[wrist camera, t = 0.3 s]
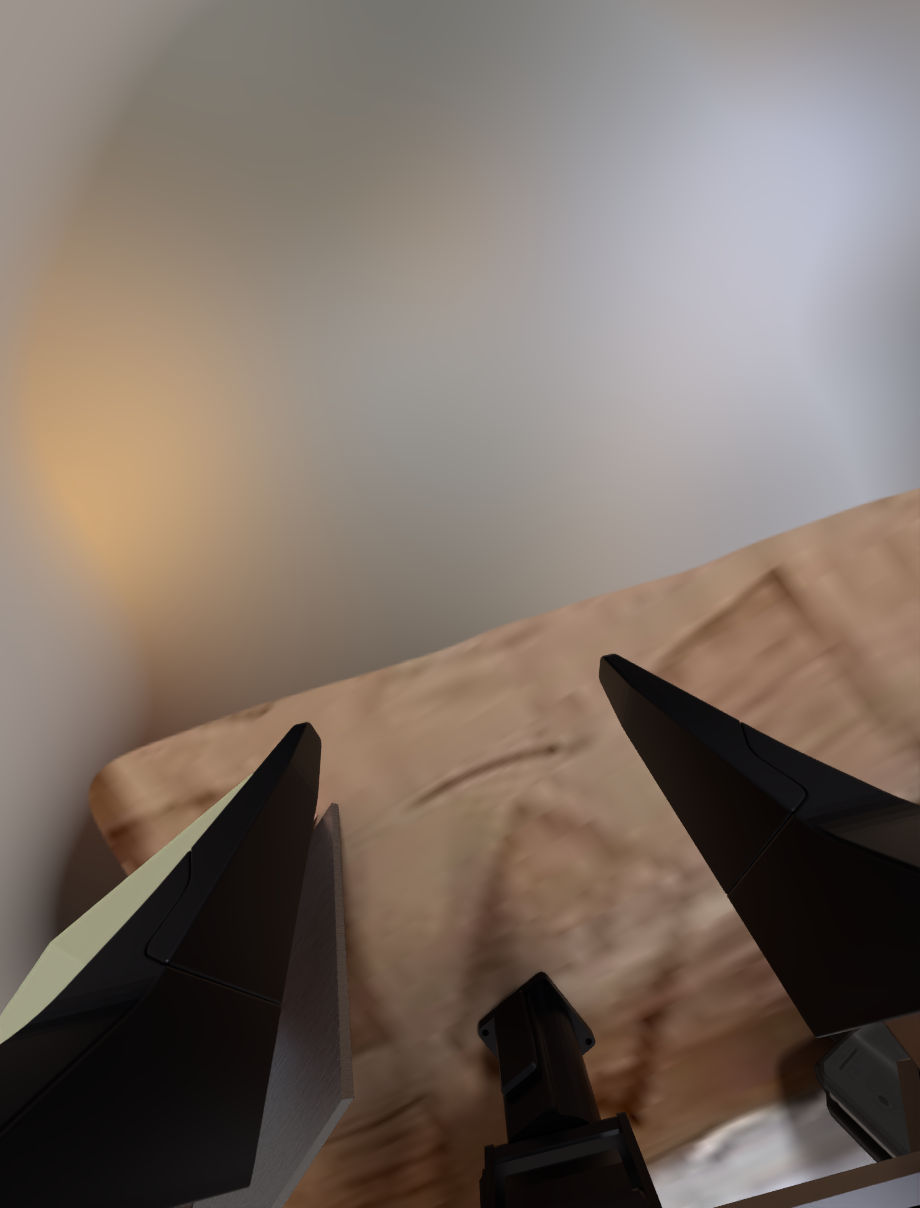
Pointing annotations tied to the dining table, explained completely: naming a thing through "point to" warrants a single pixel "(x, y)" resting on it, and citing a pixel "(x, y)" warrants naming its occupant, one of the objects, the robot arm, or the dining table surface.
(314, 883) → the bookend
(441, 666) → the dining table surface
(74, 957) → the book row
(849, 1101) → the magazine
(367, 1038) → the dining table surface
